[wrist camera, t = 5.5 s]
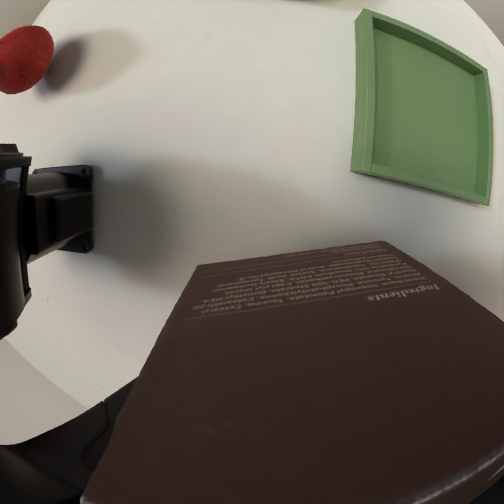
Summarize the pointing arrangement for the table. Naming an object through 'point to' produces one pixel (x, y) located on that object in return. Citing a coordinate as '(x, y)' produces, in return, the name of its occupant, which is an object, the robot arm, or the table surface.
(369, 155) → the produce tray
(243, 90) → the table surface
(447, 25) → the table surface
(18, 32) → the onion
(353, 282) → the box
